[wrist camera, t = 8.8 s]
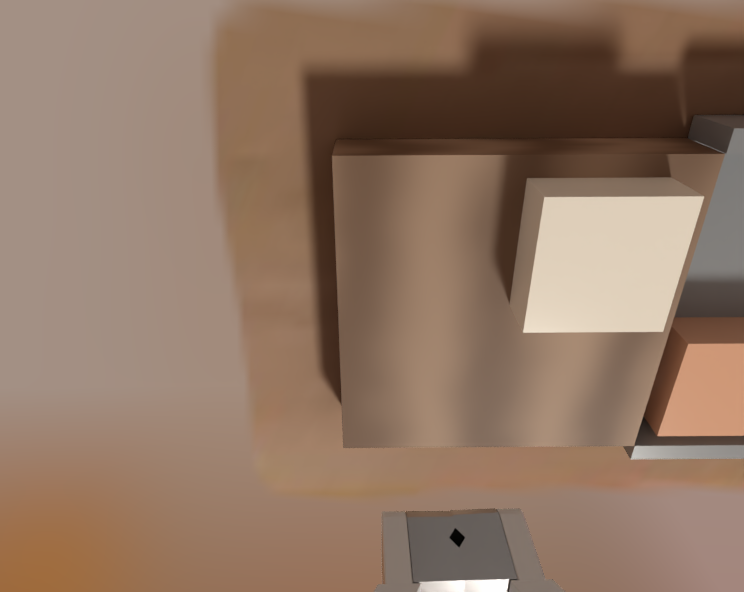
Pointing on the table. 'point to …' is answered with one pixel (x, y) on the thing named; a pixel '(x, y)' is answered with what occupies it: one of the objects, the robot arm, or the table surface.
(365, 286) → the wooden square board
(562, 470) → the table surface
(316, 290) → the table surface
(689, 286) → the box
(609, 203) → the cream tile
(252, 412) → the table surface
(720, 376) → the terracotta tile
